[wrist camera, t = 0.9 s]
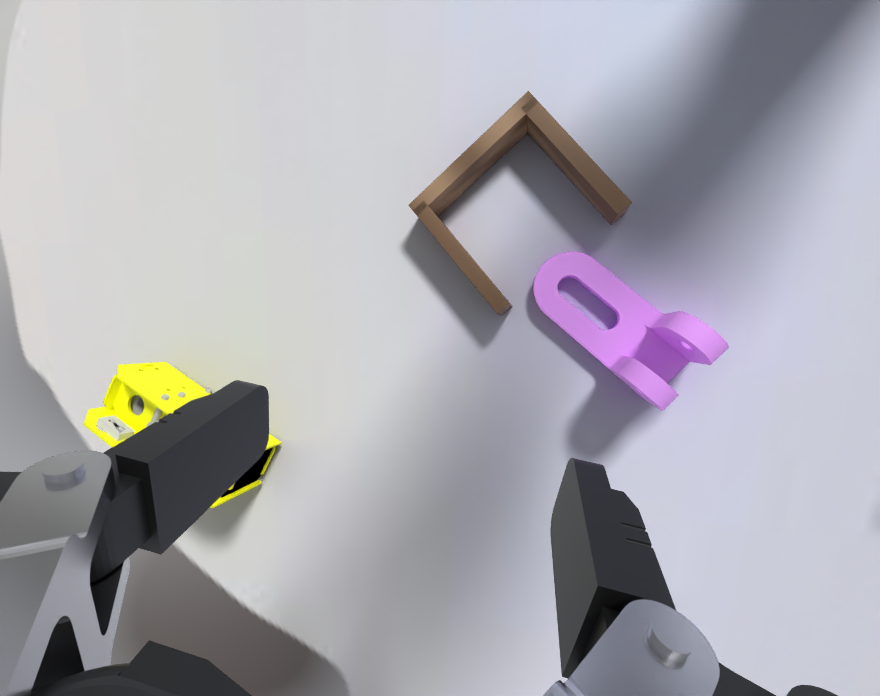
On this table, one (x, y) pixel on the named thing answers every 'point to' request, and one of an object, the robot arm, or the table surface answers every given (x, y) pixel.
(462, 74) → the table surface
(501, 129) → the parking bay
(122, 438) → the yellow toy chassis
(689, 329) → the bracket
